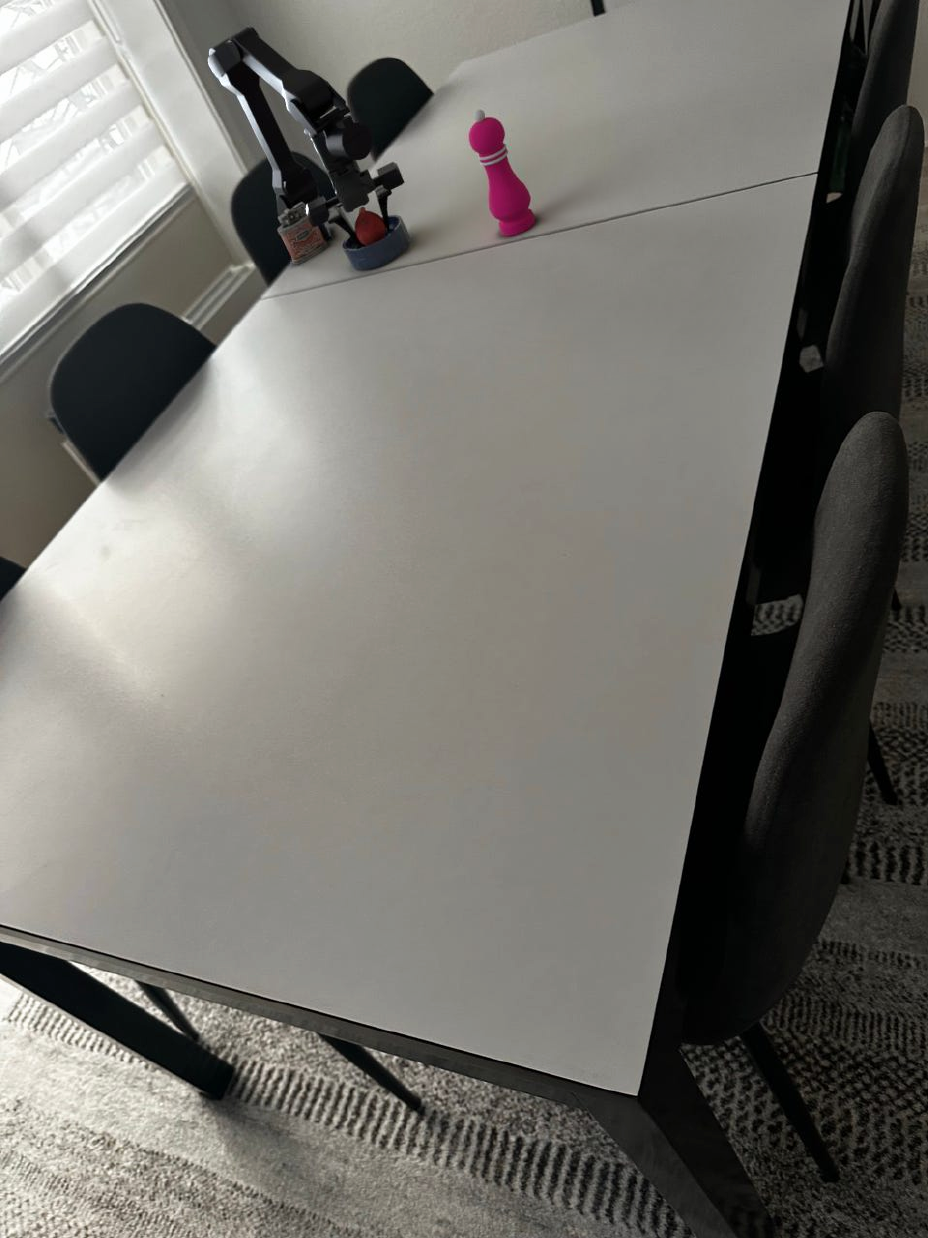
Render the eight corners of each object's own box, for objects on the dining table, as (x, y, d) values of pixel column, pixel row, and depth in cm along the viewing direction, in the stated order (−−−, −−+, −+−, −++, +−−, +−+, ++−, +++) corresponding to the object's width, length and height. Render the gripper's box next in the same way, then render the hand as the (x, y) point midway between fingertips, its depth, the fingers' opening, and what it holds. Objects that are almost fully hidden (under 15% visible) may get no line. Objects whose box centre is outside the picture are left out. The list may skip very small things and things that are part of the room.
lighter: (296, 265, 192) (275, 221, 184) (290, 260, 194) (269, 216, 187) (329, 246, 193) (309, 201, 185) (323, 241, 195) (302, 196, 187)
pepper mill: (543, 212, 163) (504, 94, 150) (530, 233, 158) (489, 114, 145) (506, 220, 166) (466, 106, 153) (493, 241, 162) (450, 125, 149)
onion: (389, 250, 174) (371, 209, 169) (362, 259, 176) (343, 219, 171) (395, 236, 178) (377, 196, 173) (368, 245, 180) (350, 205, 175)
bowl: (350, 256, 184) (340, 235, 181) (407, 229, 182) (398, 207, 179) (355, 279, 174) (345, 257, 171) (415, 251, 173) (405, 228, 170)
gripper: (291, 192, 161) (332, 274, 171) (389, 144, 159) (424, 230, 169) (289, 174, 169) (329, 253, 179) (382, 128, 167) (416, 211, 177)
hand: (374, 237), depth 176 cm, fingers closed on onion, 6 cm apart
